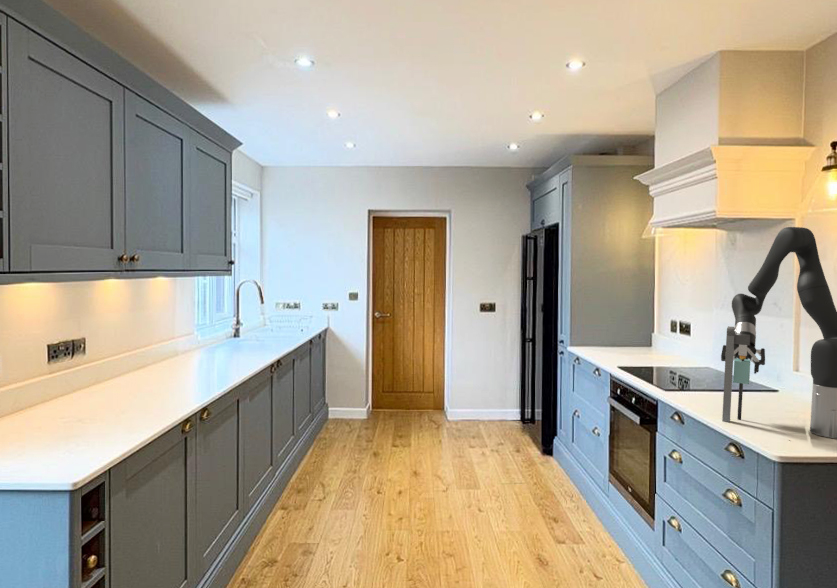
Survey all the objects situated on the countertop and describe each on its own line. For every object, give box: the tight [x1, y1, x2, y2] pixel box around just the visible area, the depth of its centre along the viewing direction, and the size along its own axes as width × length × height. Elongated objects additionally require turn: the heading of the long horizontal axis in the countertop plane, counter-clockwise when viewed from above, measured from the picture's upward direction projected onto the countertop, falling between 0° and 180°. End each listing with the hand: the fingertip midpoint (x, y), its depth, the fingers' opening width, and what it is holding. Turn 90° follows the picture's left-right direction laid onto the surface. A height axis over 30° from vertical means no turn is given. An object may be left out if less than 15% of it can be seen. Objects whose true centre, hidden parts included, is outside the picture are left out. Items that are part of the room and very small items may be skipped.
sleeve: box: [732, 358, 751, 385], centre depth 209 cm, size 7×5×8 cm
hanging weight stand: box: [721, 326, 750, 423], centre depth 206 cm, size 8×7×35 cm
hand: (741, 370), depth 208 cm, fingers open, 8 cm apart
